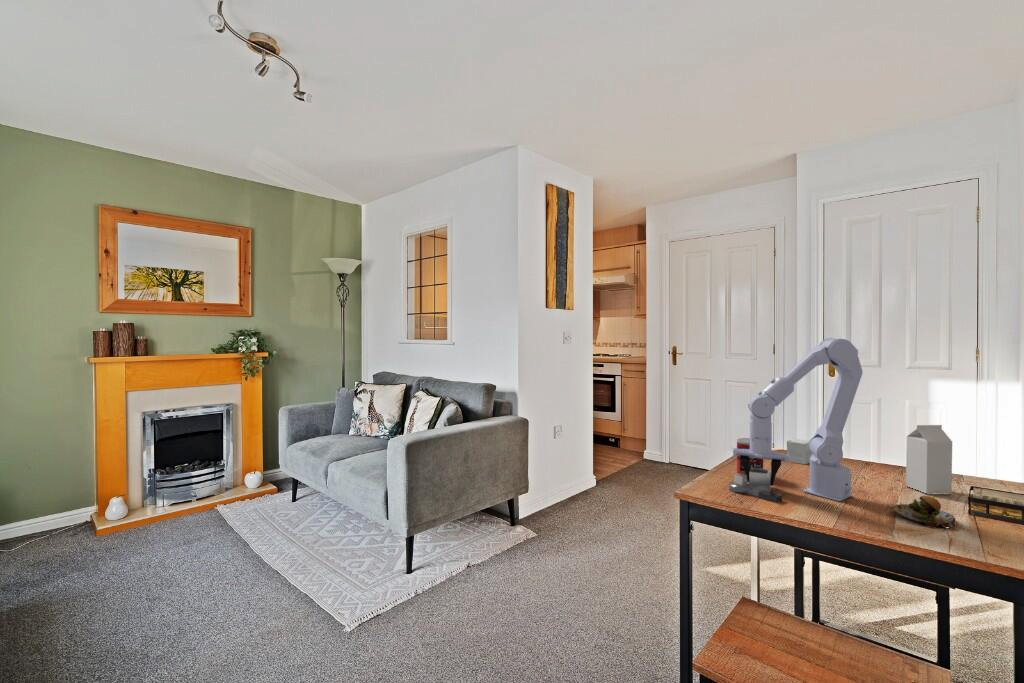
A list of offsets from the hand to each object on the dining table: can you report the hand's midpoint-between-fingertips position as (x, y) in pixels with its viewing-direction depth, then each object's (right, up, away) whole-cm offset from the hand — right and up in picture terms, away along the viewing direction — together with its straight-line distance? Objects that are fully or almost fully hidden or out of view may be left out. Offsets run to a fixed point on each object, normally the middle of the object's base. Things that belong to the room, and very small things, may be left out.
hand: (760, 483), depth 141 cm
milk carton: (+47, -2, -3) cm, 47 cm away
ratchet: (-5, -2, -6) cm, 7 cm away
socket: (0, -1, 0) cm, 1 cm away
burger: (+28, -2, -23) cm, 36 cm away
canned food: (+3, -1, +13) cm, 13 cm away
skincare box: (+28, -1, +28) cm, 40 cm away
